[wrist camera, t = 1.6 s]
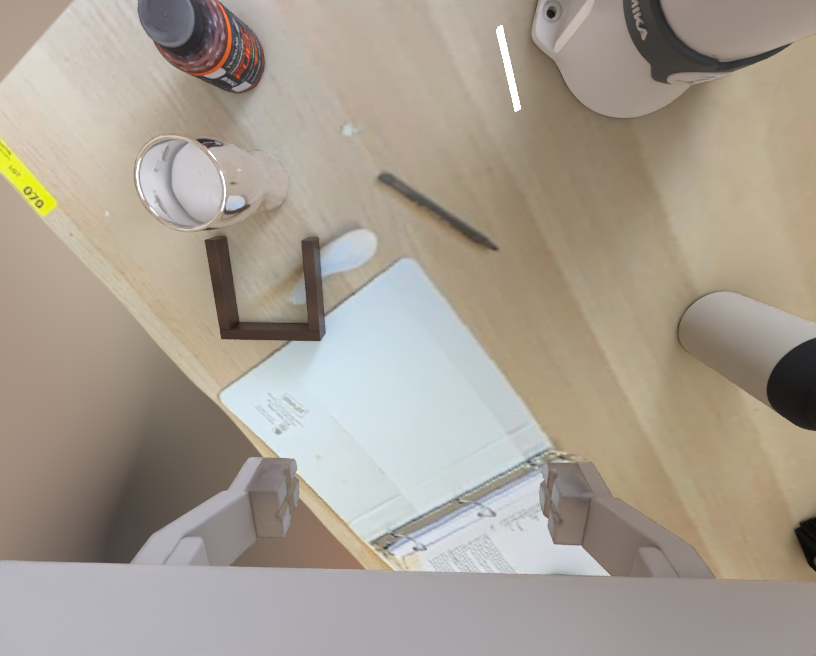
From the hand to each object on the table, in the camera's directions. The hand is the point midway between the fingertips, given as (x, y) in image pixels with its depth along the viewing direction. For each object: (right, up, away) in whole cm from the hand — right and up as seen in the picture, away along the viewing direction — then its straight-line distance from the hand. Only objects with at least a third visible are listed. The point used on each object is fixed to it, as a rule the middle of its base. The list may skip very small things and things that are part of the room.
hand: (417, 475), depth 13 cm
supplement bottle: (-17, +31, +26) cm, 43 cm away
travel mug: (+34, +5, +33) cm, 48 cm away
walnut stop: (-16, +10, +33) cm, 38 cm away
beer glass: (-16, +20, +29) cm, 39 cm away
